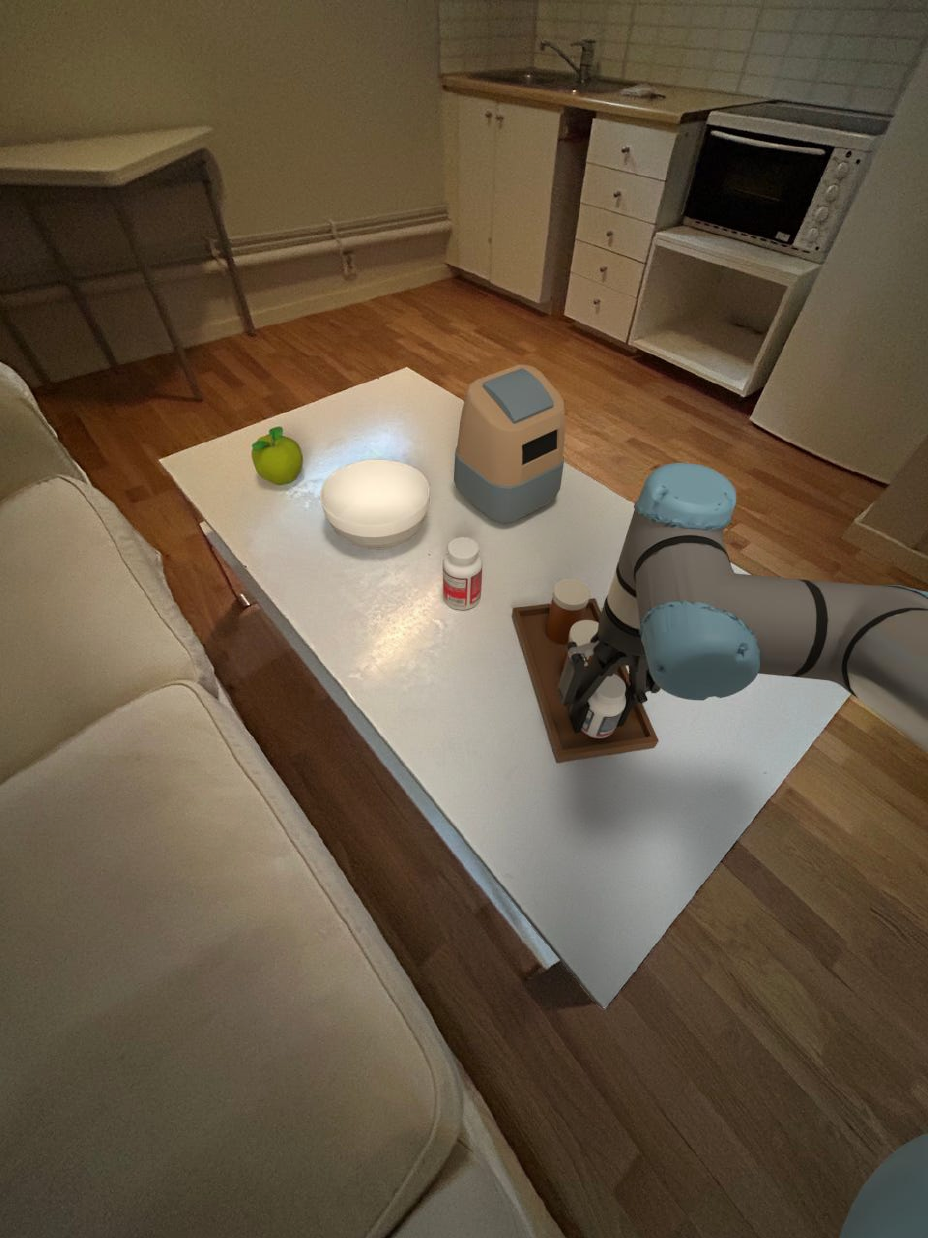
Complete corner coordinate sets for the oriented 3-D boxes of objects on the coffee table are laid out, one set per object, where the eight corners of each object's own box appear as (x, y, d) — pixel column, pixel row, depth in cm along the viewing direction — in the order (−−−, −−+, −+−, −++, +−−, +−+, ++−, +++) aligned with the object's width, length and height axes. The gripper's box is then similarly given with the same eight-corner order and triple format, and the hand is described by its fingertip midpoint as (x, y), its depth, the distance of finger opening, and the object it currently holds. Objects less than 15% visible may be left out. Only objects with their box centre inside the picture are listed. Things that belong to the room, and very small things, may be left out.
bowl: (408, 488, 108) (406, 449, 101) (448, 547, 97) (448, 507, 90) (315, 513, 102) (306, 473, 95) (346, 577, 91) (338, 538, 85)
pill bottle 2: (619, 714, 74) (636, 677, 68) (609, 745, 71) (626, 710, 65) (582, 699, 76) (595, 662, 69) (571, 729, 73) (583, 693, 66)
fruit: (250, 487, 107) (235, 442, 99) (278, 462, 112) (265, 417, 105) (289, 499, 105) (277, 453, 97) (316, 473, 110) (306, 428, 103)
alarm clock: (501, 537, 99) (513, 419, 81) (445, 492, 107) (445, 377, 89) (565, 502, 106) (588, 387, 88) (508, 463, 114) (519, 350, 96)
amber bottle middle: (600, 686, 78) (615, 647, 71) (565, 691, 77) (576, 652, 70) (588, 657, 81) (601, 617, 74) (555, 662, 80) (565, 622, 73)
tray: (654, 748, 72) (659, 740, 70) (556, 763, 70) (558, 756, 69) (592, 606, 88) (595, 598, 87) (511, 616, 87) (512, 607, 85)
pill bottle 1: (474, 580, 91) (476, 530, 83) (485, 606, 88) (489, 556, 79) (438, 588, 90) (437, 537, 82) (448, 614, 86) (448, 564, 78)
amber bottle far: (582, 642, 83) (595, 602, 76) (549, 647, 82) (559, 606, 75) (572, 617, 86) (583, 576, 79) (540, 621, 85) (549, 580, 78)
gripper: (708, 571, 59) (648, 688, 77) (546, 590, 57) (523, 706, 75) (742, 623, 54) (670, 735, 72) (567, 645, 52) (537, 756, 70)
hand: (595, 720), depth 73 cm, fingers closed on pill bottle 2, 5 cm apart
